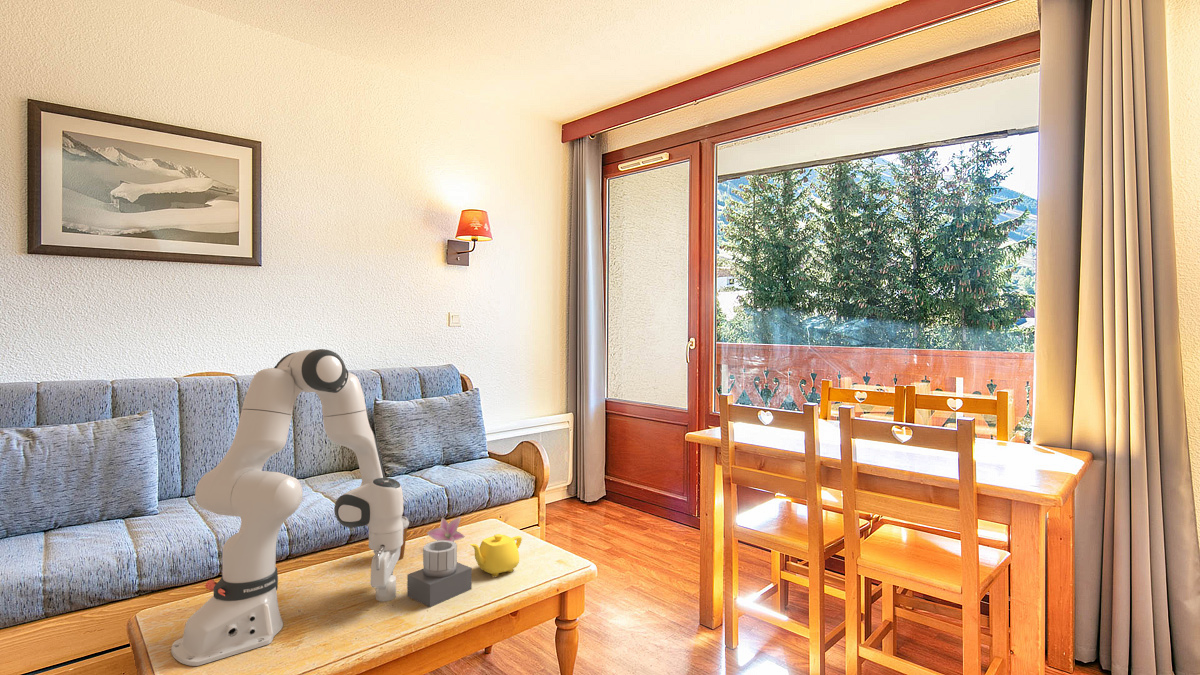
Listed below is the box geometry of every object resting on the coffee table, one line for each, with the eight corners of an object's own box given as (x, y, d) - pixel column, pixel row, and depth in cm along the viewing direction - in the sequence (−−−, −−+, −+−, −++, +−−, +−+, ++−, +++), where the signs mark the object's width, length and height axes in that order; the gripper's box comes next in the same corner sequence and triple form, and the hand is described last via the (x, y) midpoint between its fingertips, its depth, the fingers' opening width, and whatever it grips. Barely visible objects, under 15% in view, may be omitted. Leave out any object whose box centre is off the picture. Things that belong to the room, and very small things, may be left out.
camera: (430, 607, 160) (430, 558, 160) (407, 596, 166) (407, 549, 166) (471, 588, 171) (471, 543, 171) (448, 579, 177) (449, 535, 177)
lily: (424, 548, 203) (419, 528, 198) (453, 527, 211) (449, 507, 206) (446, 568, 197) (441, 548, 192) (475, 545, 204) (471, 526, 199)
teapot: (479, 585, 174) (479, 548, 174) (460, 572, 182) (460, 537, 182) (531, 568, 186) (531, 534, 186) (511, 557, 194) (511, 524, 194)
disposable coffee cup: (386, 566, 186) (386, 527, 185) (371, 557, 192) (371, 520, 192) (414, 557, 193) (415, 520, 192) (399, 549, 199) (399, 513, 199)
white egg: (382, 603, 162) (382, 584, 162) (371, 597, 165) (371, 579, 165) (399, 596, 166) (399, 578, 166) (388, 591, 169) (389, 573, 169)
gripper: (390, 553, 155) (389, 606, 156) (405, 526, 176) (404, 573, 176) (364, 554, 154) (364, 608, 155) (382, 526, 175) (382, 574, 175)
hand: (385, 589), depth 166 cm, fingers closed on white egg, 5 cm apart
